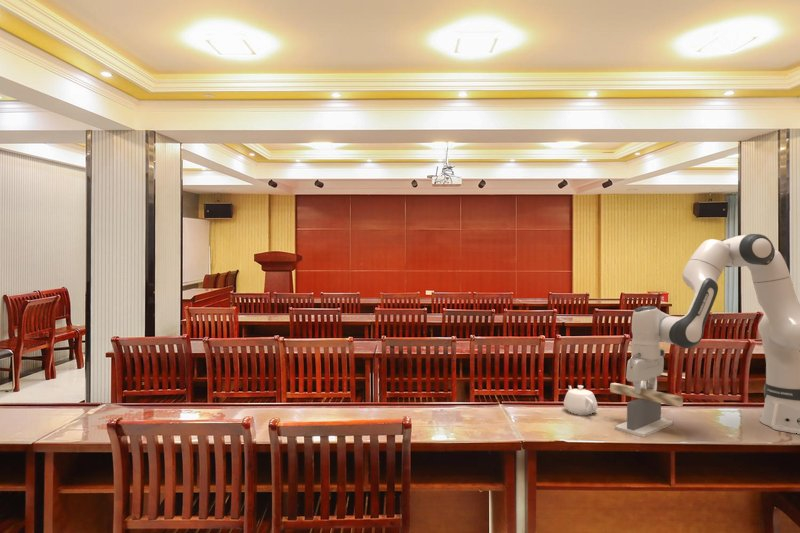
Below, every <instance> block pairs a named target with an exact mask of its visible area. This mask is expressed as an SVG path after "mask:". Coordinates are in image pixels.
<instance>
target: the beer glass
mask: <svg viewBox="0 0 800 533" xmlns="http://www.w3.org/2000/svg"><path fill="white" fill-rule="evenodd" d="M657 377H658V376H656V382H655V388H654V389H652V390H653V391H657V390H658V389H657V388H658V378H657ZM648 384H649V379H647V380H643V381H641V384H640V387H641V388H643V389H648ZM648 390H651V389H648Z"/></svg>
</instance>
